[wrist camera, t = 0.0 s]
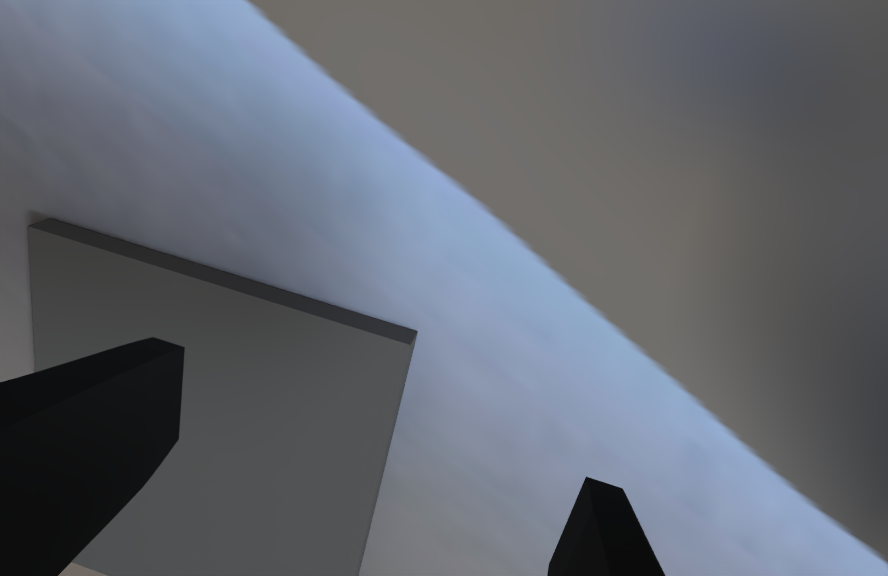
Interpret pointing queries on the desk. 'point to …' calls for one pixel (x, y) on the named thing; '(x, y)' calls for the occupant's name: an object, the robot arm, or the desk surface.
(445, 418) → the desk surface
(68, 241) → the charcoal mat
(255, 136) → the desk surface
